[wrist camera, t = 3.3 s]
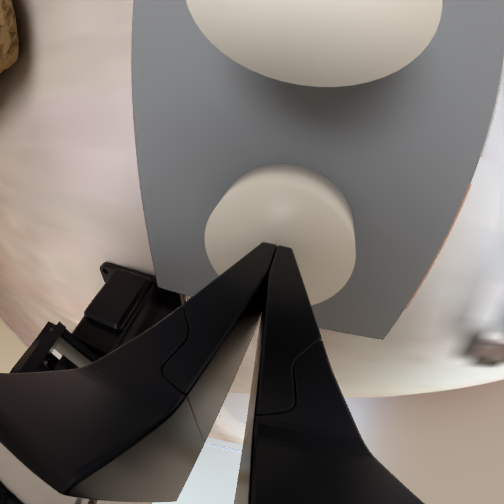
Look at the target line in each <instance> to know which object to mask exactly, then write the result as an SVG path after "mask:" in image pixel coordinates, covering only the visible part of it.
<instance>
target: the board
mask: <svg viewBox="0 0 504 504" xmlns="http://www.w3.org/2000/svg"><path fill="white" fill-rule="evenodd" d="M503 69H504V0H442V13H441V19H440V22H439V25H438V28H437V30H436V33H435V35H434V36H433V38H432V40H431V41H430V43H429V45H428V46H427V47H426V48H425V49H424V50H423V52H422V53H421V54H420V55H419V56H418V57H416V58H415V59H414V60H413V61H412V62H411V63H409V64H408V65H406V66H405V67H403V68H401V69H400V70H398V71H397V72H394V73H392V74H390V75H388V76H385V77H383V78H380V79H377V80H374V81H371V82H367V83H362V84H357V85H352V86H340V87H314V86H305V85H297V84H293V83H288V82H283V81H279V80H276V79H273V78H270V77H266V76H264V75H261V74H259V73H257V72H254V71H252V70H249V69H248V68H246V67H244V66H242V65H240V64H238V63H237V62H235V61H234V60H232V59H231V58H229V57H228V56H226V55H225V54H223V53H222V52H221V51H220V50H219V49H218V48H216V47H215V46H214V45H213V44H212V43H211V42H210V41H209V40H208V39H207V38H206V36H205V35H204V34H203V33H202V32H201V30H200V29H199V27H198V26H197V24H196V23H195V21H194V19H193V17H192V15H191V13H190V11H189V9H188V5H187V2H186V0H134V3H133V19H132V100H133V118H134V132H135V144H136V154H137V164H138V173H139V181H140V188H141V196H142V203H143V209H144V216H145V222H146V228H147V234H148V239H149V245H150V250H151V255H152V260H153V265H154V270H155V275H156V280H157V284H158V287H160V288H163V289H167V290H170V291H173V292H177V293H180V294H184V295H187V296H191V297H193V296H194V295H195V294H196V293H198V292H199V291H200V290H202V289H203V288H204V287H205V286H207V285H208V284H209V283H211V282H212V281H213V280H214V279H216V278H217V277H218V276H219V275H218V274H217V272H216V271H215V270H214V268H213V266H212V265H211V263H210V261H209V258H208V256H207V252H206V248H205V241H204V238H205V229H206V224H207V222H208V219H209V217H210V215H211V214H212V212H213V210H214V209H215V208H216V206H217V205H218V203H219V202H220V200H221V199H222V198H223V196H224V195H225V193H226V192H227V191H228V189H229V188H230V186H231V185H232V184H233V183H234V182H235V181H236V180H237V179H238V178H239V177H240V176H242V175H243V174H245V173H246V172H248V171H250V170H252V169H254V168H257V167H260V166H264V165H268V164H276V163H287V164H294V165H299V166H303V167H306V168H309V169H311V170H314V171H316V172H318V173H320V174H321V175H323V176H325V177H326V178H327V179H329V180H330V181H331V182H333V183H334V184H335V185H336V186H337V187H338V188H339V190H340V191H341V192H342V193H343V195H344V196H345V198H346V200H347V201H348V203H349V206H350V208H351V211H352V215H353V221H354V233H355V249H356V259H355V266H354V269H353V272H352V274H351V276H350V278H349V280H348V281H347V283H346V284H345V285H344V287H343V288H342V289H341V290H340V291H339V292H337V293H336V294H335V295H333V296H332V297H330V298H329V299H327V300H325V301H323V302H320V303H318V304H314V305H311V306H312V309H313V313H314V316H315V319H316V322H317V325H318V328H323V329H328V330H333V331H338V332H343V333H348V334H354V335H359V336H365V337H370V338H376V339H382V340H383V339H384V338H385V336H386V335H387V334H388V332H389V331H390V330H391V328H392V327H393V325H394V324H395V322H396V321H397V319H398V318H399V316H400V315H401V314H402V312H403V311H404V309H406V308H407V306H408V305H409V303H410V302H411V300H412V299H413V297H414V295H415V294H416V292H417V291H418V289H419V287H420V286H421V284H422V282H423V281H424V279H425V277H426V276H427V274H428V272H429V271H430V269H431V267H432V265H433V264H434V262H435V260H436V258H437V256H438V254H439V253H440V251H441V249H442V247H443V245H444V243H445V241H446V239H447V237H448V235H449V233H450V231H451V229H452V227H453V225H454V223H455V221H456V219H457V217H458V214H459V212H460V210H461V208H462V206H463V203H464V201H465V199H466V196H467V194H468V191H469V189H470V187H471V184H470V183H471V180H472V178H473V175H474V172H475V170H476V167H477V164H478V161H479V158H480V157H482V154H483V151H484V148H485V145H486V142H487V138H488V135H489V132H490V128H491V125H492V121H493V117H494V113H495V109H496V105H497V101H498V96H499V91H500V86H501V81H502V76H503Z"/></svg>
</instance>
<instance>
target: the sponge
mask: <svg viewBox="0 0 504 504" xmlns="http://www.w3.org/2000/svg"><path fill="white" fill-rule="evenodd" d="M18 44H19V40H18V34H17V25H16V18H15V12H14V8H13V6H12V0H0V74H1V73H2V72H3V70H5V69H8V68H9V67H10V66H11V65H12V64H13V63H15V62H16V61H17V60H18V54H19V47H18Z"/></svg>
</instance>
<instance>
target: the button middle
mask: <svg viewBox="0 0 504 504" xmlns="http://www.w3.org/2000/svg"><path fill="white" fill-rule="evenodd" d="M186 2H187V5H188V9H189V11H190V13H191V15H192V17H193V19H194V21H195V23H196V24H197V26H198V27H199V29H200V30H201V32H202V33H203V34H204V35H205V36H206V38H207V39H208V40H209V41H210V42H211V43H212V44H213V45H214V46H215V47H216V48H218V49H219V50H220V51H221V52H222V53H223V54H225V55H226V56H228V57H229V58H231V59H232V60H234V61H235V62H237V63H238V64H240V65H242V66H244V67H246V68H248V69H249V70H252V71H254V72H257V73H259V74H261V75H264V76H266V77H270V78H273V79H276V80H279V81H283V82H288V83H293V84H297V85H305V86H314V87H340V86H352V85H357V84H362V83H367V82H371V81H374V80H377V79H380V78H383V77H385V76H388V75H390V74H392V73H394V72H397V71H398V70H400V69H401V68H403V67H405V66H406V65H408V64H409V63H411V62H412V61H413V60H414V59H415V58H416V57H418V56H419V55H420V54H421V53H422V52H423V50H424V49H425V48H426V47H427V46H428V45H429V43H430V41H431V40H432V38H433V36H434V35H435V33H436V30H437V28H438V25H439V22H440V19H441V13H442V0H186Z"/></svg>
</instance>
